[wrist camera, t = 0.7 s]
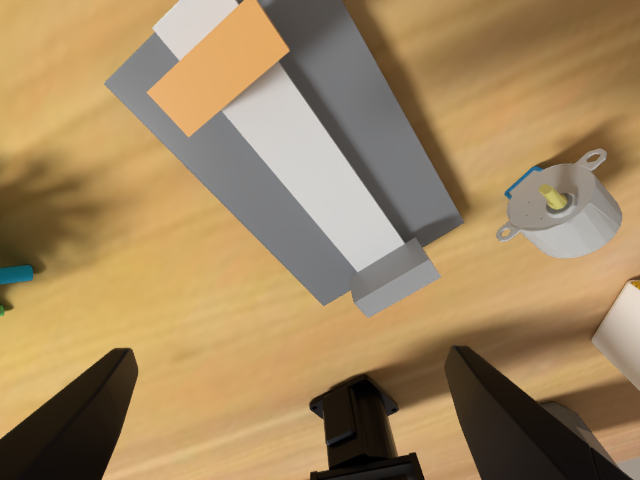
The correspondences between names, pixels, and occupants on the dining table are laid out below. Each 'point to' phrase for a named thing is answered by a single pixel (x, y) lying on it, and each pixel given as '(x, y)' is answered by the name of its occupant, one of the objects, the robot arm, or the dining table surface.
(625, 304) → the medicine bottle
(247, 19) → the tall tan wooden block
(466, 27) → the dining table surface
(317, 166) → the rail
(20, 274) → the gear
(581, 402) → the dining table surface
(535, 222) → the electric motor
